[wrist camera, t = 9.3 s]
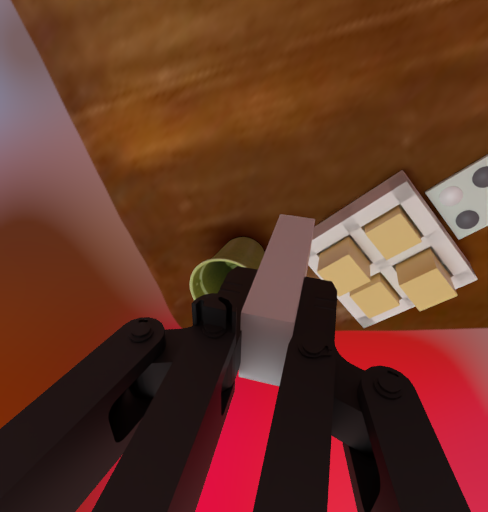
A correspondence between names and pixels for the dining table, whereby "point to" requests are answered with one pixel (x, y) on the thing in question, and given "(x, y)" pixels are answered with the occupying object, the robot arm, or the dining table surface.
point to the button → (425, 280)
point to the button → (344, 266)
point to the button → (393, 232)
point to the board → (353, 225)
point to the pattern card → (463, 198)
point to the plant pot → (225, 265)
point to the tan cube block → (375, 296)
